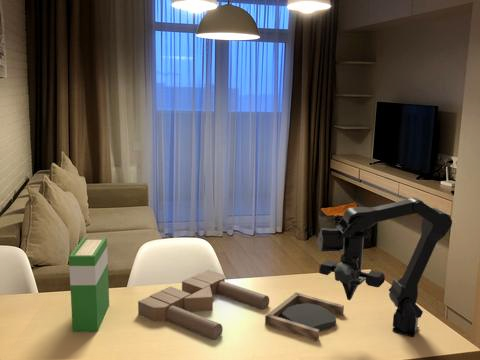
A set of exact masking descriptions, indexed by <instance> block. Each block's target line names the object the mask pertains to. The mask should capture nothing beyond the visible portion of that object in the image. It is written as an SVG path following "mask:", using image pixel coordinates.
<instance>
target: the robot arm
mask: <svg viewBox="0 0 480 360" xmlns="http://www.w3.org/2000/svg"><path fill="white" fill-rule="evenodd" d="M414 214H417V215H418V216H419V217H422V221H421V225H420V227H421V231H420V232H421V234H420V238H419V240H418V242H417V244H416V247H415V249H414V251H413V253H412V256H411V258H410V260H409V262H408V265H407V266H406V269H405V271H404V273H403V276H402V277H401V278H399V279H398V280H397V279H393V280H392V283H391V286H390V287H389V289H388V291H389V293H388V296H389V299H390V301H391V302H392V303H393V304H394V307H396V308H397V309H396V310H395V312H394V313H393V320H392V327H393V328H392V332H394V333H395V332H396V333H399V334H401V335H405V336H410V337H413V338H414V337H415V336H416V334H417V333H418V331H419V328H420V327H419V326H418V325H419V324H418V323H419V318H422V315H423V313H424V311H423V310H422V309H421V307H420V306H418V305H417V300H418V297H419V283H420V281H421V280H422V279H421V278H422V276H423V274H424V272H425V269H426V268H427V267H428V266H427V265H428V263H429V262H430V258H431V256H432V254H433V252H434V250H435V248H436V246H437V244H438V242H440V240H442V239H443V238H444V237H445V236H446V235H447V233H448V232H449V231H450V229H451V227H452V225H453V220H452V217H451V216H450V215H449V214H447V213H446V212H444V211H442V210H440V209H438V208H435V207H434V208H433V207H430V206H428V205H427V204H426V203H424V201H423V200H421V199H420V198H417V197H410V198H408V199H403V200H400V201H399V200H398V201H395V202H390V203H385V204H381V205H377V206H373V207H367V206H356V207H349V208H347V209H346V210H345V211H344V212H343V216H342V218H341V219H340V220H339V221H338V223H337V224H336V225H335V226H334V227H335V228H328V227H321V228H320V232H319V233H318V236H317V240H316V241H317V242H316V243H317V248H318V251H319V252H340V251H342V253H341V255H340V261H339V262H338V261H334V260H329V259H326V260H325V261H324V262H321V264H319V267H318V274H321V275H324V276H328V275H330V274H331V273H334V279H335V281H336V282H340V283H341V285H342V286H343V290H344V293H345V297H346V300H347V301H351V300H352V298H353V296H354V295H355V293H356V291H357V288H358V286H360V285H362V283H364V282H365V284H366V285H367V286H369V287H374V288H380V287H381V286H382V285H383V284H384V283H385V281H386V280H385V279H386V278H385V277H386V276H385V274H384V272H382V271H377V270H374V269H373V270H372V269H371V271H369V272H368V273H367V272H365V271H363V267H364V266H363V257H365V256H364V254H365V253H364V252H363V251H364V240H365V238H371V237H372V235H371V234H370V233H369V231H368V230H367V229H370V228H371V227H373V226H374V225H375V224H378V223H379V222H385V221H388V220H393V219H397V218H402V217H407V216H410V215H411V216H412V215H414Z"/></svg>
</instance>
